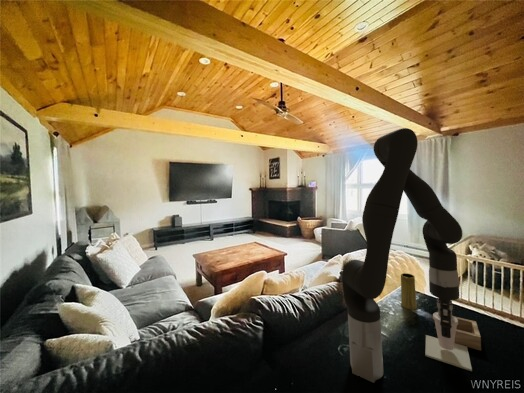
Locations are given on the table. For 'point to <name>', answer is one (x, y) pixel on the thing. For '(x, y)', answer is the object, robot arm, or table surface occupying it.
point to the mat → (448, 353)
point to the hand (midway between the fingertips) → (445, 330)
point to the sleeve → (468, 334)
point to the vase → (408, 291)
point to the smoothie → (449, 342)
